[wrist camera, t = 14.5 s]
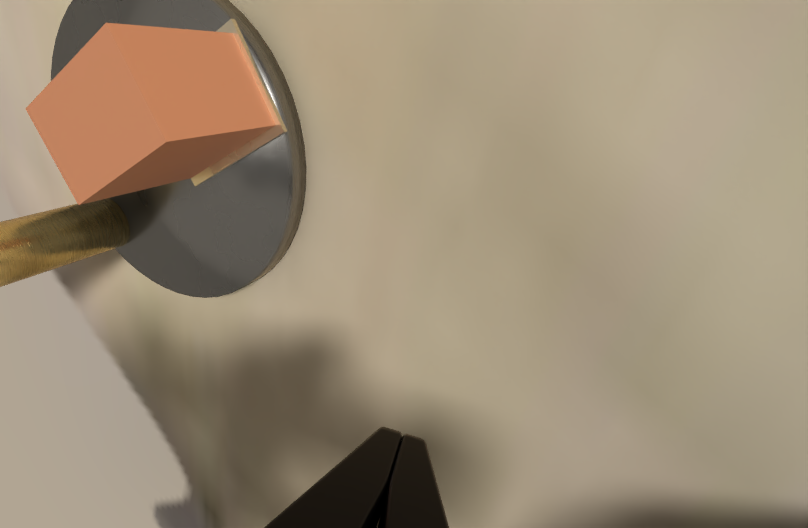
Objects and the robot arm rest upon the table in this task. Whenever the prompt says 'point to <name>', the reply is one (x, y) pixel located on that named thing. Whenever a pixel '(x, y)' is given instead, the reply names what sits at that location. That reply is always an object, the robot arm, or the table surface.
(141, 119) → the link block
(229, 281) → the metal plate with post
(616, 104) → the table surface
